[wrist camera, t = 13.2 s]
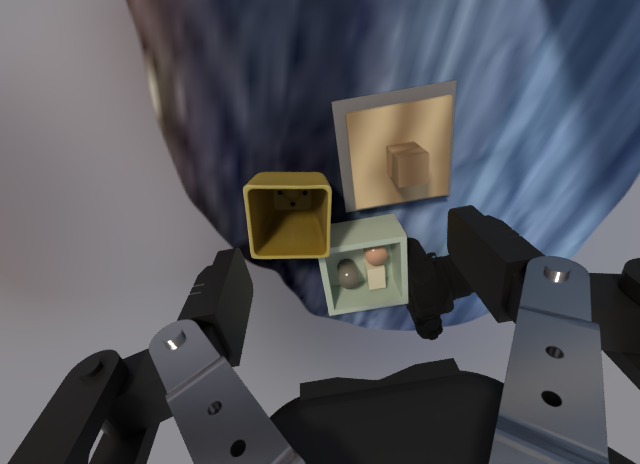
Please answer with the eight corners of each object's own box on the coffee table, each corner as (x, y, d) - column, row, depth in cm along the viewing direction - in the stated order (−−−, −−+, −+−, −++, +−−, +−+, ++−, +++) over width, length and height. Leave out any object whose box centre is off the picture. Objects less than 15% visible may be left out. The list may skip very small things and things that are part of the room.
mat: (455, 80, 35) (456, 80, 35) (449, 194, 42) (450, 195, 42) (331, 101, 35) (331, 102, 35) (345, 211, 42) (346, 212, 42)
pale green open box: (393, 213, 43) (406, 235, 38) (396, 276, 48) (408, 303, 43) (314, 226, 43) (316, 250, 38) (326, 287, 49) (329, 315, 44)
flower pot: (260, 222, 43) (250, 260, 35) (254, 159, 38) (242, 185, 30) (324, 221, 43) (329, 258, 35) (326, 158, 39) (332, 185, 31)
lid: (445, 93, 35) (474, 101, 29) (441, 188, 41) (465, 211, 35) (343, 111, 36) (352, 122, 30) (353, 202, 41) (362, 228, 35)
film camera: (461, 298, 52) (490, 342, 44) (403, 312, 52) (421, 357, 45) (458, 220, 44) (491, 255, 36) (390, 237, 45) (409, 275, 37)
